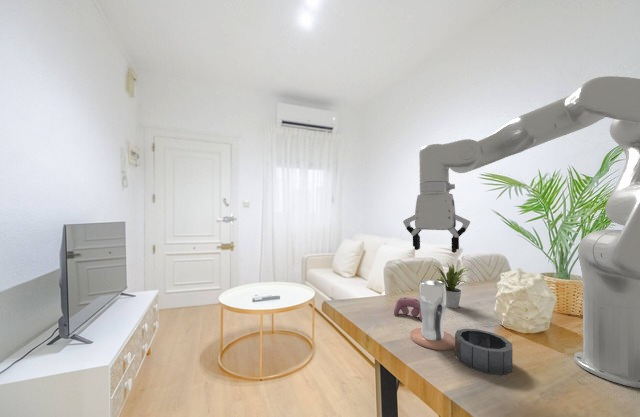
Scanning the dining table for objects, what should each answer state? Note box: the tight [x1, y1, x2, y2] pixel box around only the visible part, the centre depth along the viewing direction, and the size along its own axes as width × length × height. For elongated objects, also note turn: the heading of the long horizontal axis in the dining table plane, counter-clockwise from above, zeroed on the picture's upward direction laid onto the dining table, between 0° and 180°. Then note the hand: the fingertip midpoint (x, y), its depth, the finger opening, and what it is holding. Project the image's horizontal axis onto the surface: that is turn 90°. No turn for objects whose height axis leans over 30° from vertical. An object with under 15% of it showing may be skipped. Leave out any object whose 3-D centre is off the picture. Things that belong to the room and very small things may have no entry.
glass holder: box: [454, 328, 513, 376], centre depth 62 cm, size 11×11×5 cm
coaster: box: [409, 327, 455, 352], centre depth 73 cm, size 12×12×1 cm
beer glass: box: [418, 279, 447, 342], centre depth 73 cm, size 7×7×15 cm
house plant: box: [435, 263, 472, 309], centre depth 99 cm, size 14×14×16 cm
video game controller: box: [393, 297, 422, 322], centre depth 90 cm, size 10×5×7 cm, turn 58°
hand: (435, 250), depth 73 cm, fingers open, 9 cm apart
